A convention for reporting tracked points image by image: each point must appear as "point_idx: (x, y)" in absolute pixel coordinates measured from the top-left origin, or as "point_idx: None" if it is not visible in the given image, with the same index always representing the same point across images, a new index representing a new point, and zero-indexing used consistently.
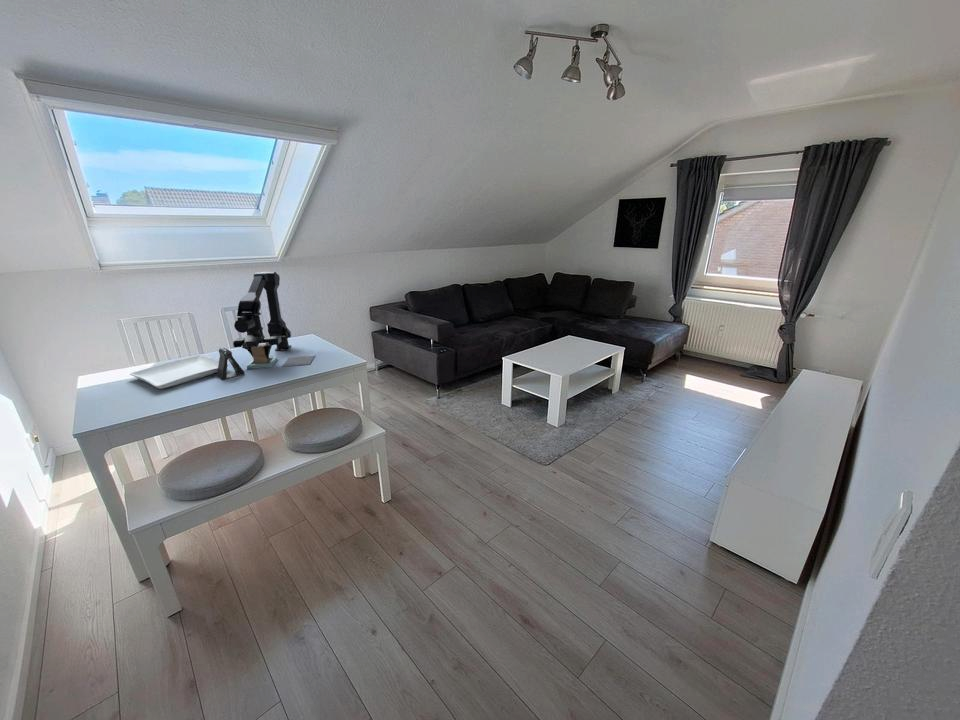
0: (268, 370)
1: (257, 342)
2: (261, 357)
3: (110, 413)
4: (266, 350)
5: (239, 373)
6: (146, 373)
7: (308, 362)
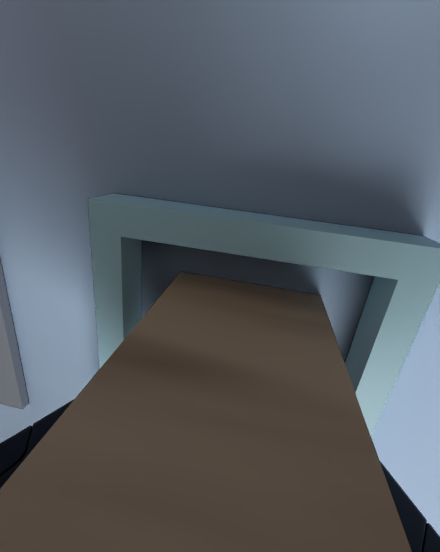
0: (101, 29)
1: None
2: (190, 344)
3: None
4: (4, 480)
5: None
6: None
7: None
